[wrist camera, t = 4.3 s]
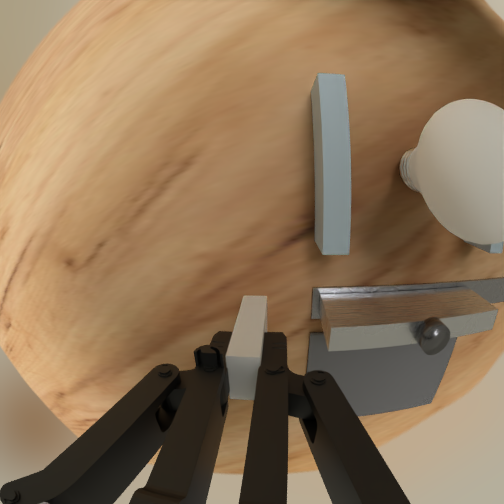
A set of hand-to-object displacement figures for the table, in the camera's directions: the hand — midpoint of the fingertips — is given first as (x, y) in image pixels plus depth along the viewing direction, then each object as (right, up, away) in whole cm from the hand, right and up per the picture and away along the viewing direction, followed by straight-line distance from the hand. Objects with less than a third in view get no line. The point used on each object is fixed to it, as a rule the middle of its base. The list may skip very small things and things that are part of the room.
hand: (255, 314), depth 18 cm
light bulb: (+11, +10, -1) cm, 15 cm away
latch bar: (+11, +1, +1) cm, 11 cm away
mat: (+11, -7, +3) cm, 13 cm away
